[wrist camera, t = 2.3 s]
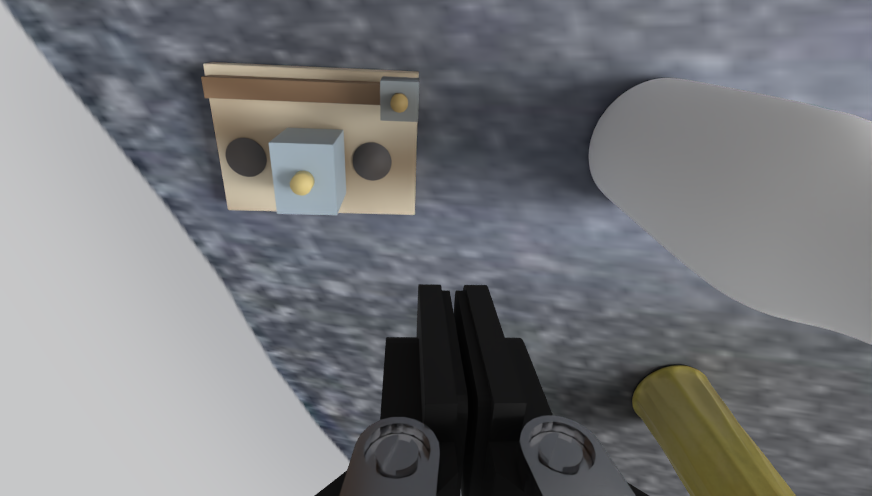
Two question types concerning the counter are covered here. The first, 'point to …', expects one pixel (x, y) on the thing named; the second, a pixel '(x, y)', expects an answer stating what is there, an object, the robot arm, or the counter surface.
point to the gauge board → (319, 109)
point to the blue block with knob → (308, 171)
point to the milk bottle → (748, 194)
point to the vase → (703, 436)
